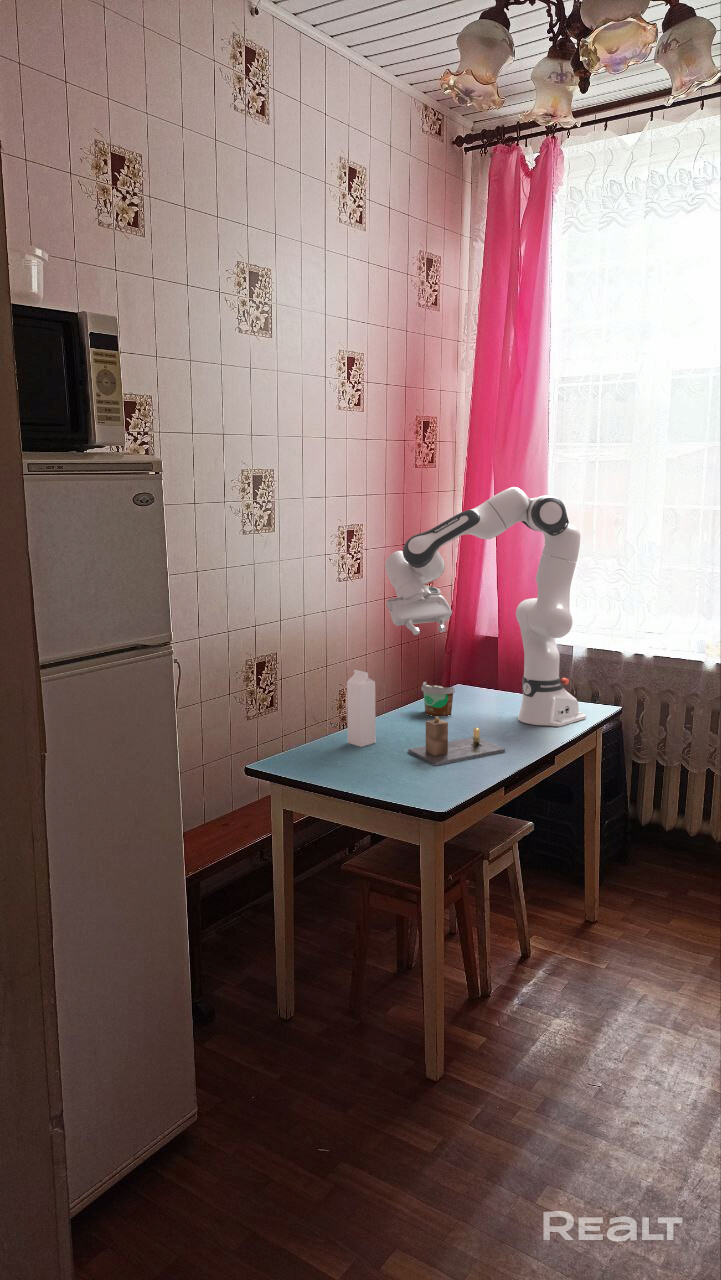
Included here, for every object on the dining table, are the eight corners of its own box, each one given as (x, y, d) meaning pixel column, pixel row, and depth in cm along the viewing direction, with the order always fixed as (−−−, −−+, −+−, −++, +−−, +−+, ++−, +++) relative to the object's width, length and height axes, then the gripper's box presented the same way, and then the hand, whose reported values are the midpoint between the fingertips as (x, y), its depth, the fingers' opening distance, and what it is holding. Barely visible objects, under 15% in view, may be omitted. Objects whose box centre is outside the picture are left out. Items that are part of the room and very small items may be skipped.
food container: (413, 713, 299) (413, 684, 297) (424, 709, 304) (424, 681, 302) (444, 719, 291) (444, 690, 290) (454, 716, 296) (455, 686, 294)
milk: (362, 739, 272) (361, 667, 268) (375, 743, 267) (375, 671, 263) (347, 743, 268) (346, 670, 264) (360, 747, 263) (360, 674, 259)
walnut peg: (438, 749, 257) (438, 714, 255) (447, 753, 253) (448, 718, 251) (425, 751, 255) (425, 717, 253) (434, 755, 251) (434, 720, 249)
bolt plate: (475, 739, 269) (476, 720, 268) (505, 752, 257) (505, 732, 256) (408, 752, 258) (408, 732, 257) (435, 766, 246) (435, 745, 245)
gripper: (388, 592, 272) (405, 629, 265) (443, 588, 282) (461, 623, 275) (380, 605, 276) (397, 641, 270) (435, 600, 286) (453, 635, 280)
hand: (430, 632), depth 273 cm, fingers open, 8 cm apart
